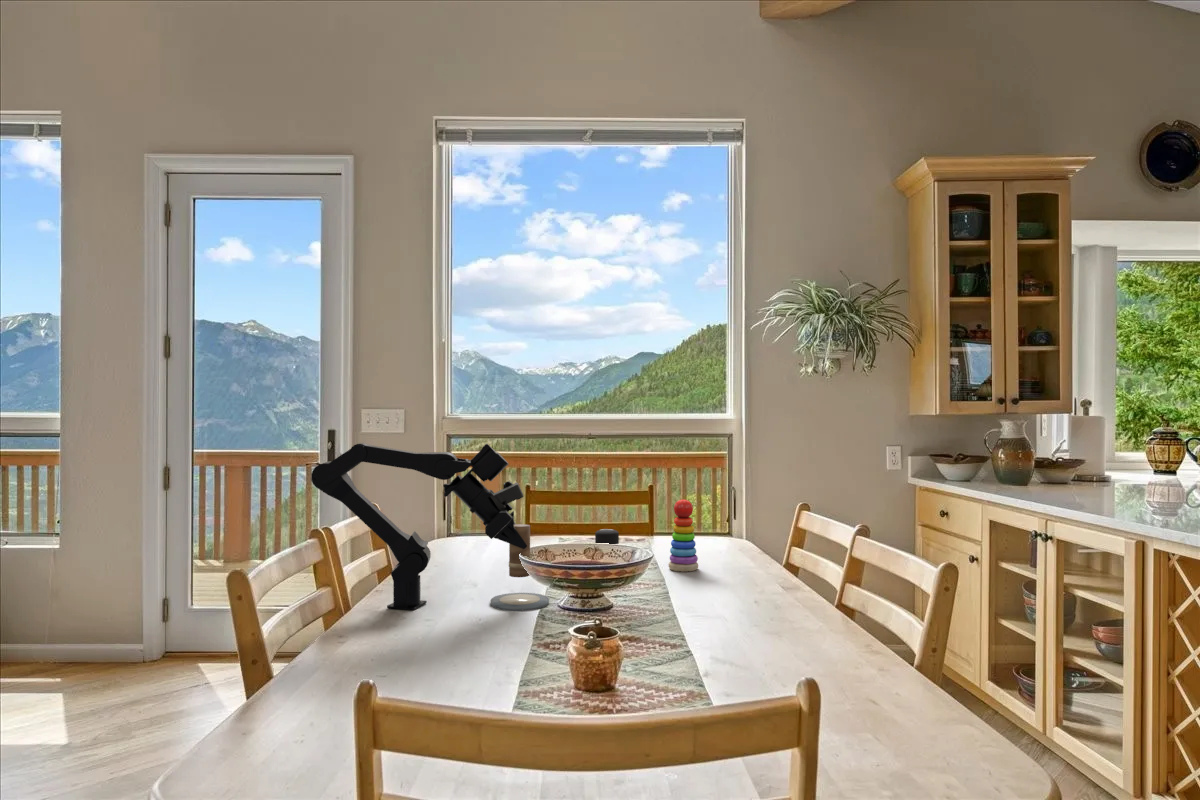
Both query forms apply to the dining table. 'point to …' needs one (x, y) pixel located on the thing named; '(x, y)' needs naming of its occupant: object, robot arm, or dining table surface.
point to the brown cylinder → (514, 551)
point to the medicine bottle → (607, 536)
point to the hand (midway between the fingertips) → (525, 545)
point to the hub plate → (519, 601)
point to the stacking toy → (683, 539)
